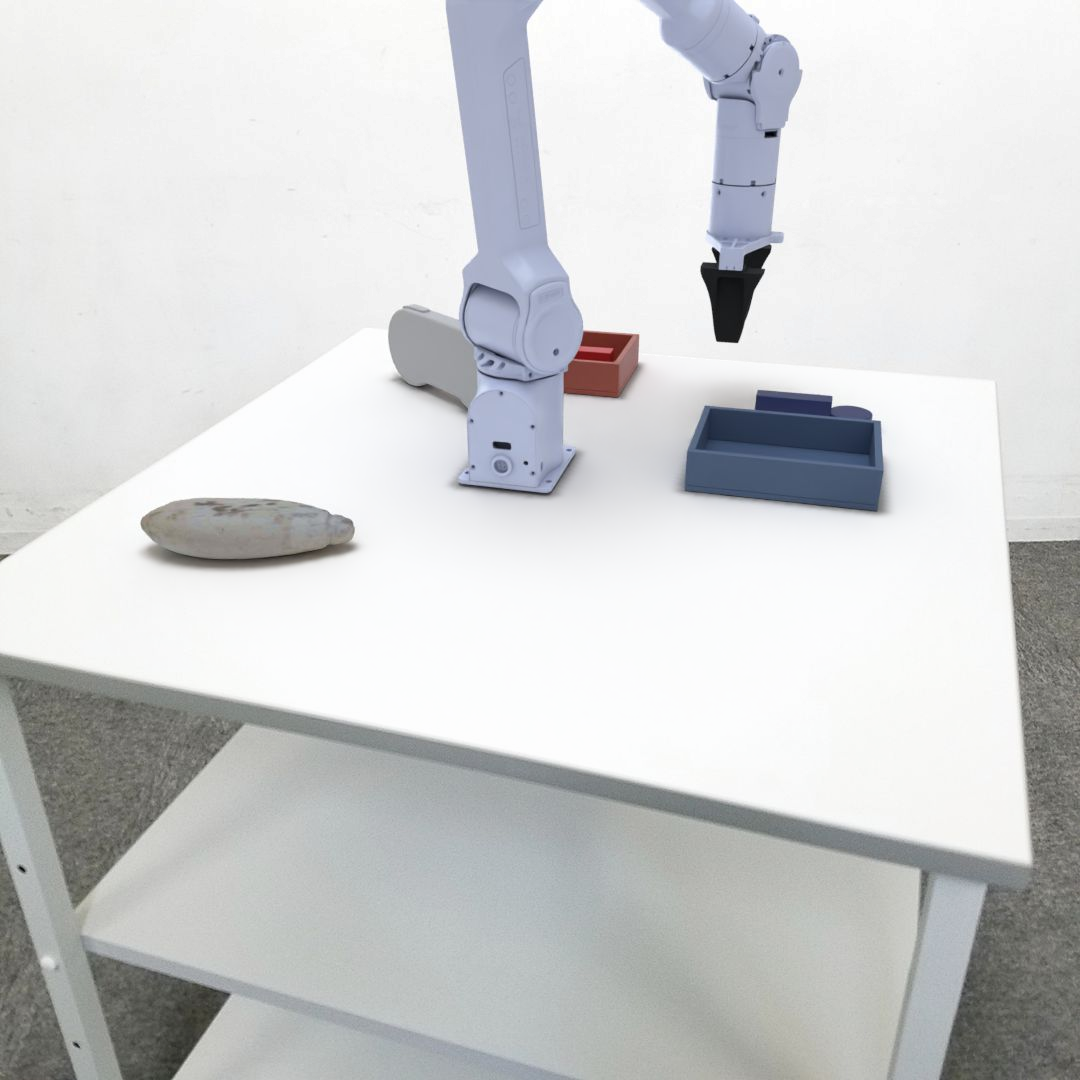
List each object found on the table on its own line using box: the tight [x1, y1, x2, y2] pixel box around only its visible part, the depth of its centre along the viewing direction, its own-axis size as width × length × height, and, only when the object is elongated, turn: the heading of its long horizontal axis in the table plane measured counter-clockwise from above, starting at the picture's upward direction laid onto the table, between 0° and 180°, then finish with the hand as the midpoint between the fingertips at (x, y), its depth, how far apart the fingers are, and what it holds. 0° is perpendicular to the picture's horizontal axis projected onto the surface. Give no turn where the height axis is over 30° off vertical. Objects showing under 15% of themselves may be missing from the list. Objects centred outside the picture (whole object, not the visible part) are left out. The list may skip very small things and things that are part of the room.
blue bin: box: [684, 405, 885, 512], centre depth 87 cm, size 11×15×4 cm
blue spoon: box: [754, 389, 874, 420], centre depth 98 cm, size 11×4×3 cm, turn 75°
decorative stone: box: [140, 497, 356, 560], centre depth 75 cm, size 6×16×3 cm, turn 93°
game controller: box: [387, 303, 477, 410], centre depth 103 cm, size 20×2×8 cm, turn 39°
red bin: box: [564, 329, 640, 398], centre depth 111 cm, size 11×15×4 cm
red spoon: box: [573, 346, 614, 362], centre depth 111 cm, size 11×4×3 cm, turn 75°
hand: (731, 330), depth 99 cm, fingers open, 7 cm apart
